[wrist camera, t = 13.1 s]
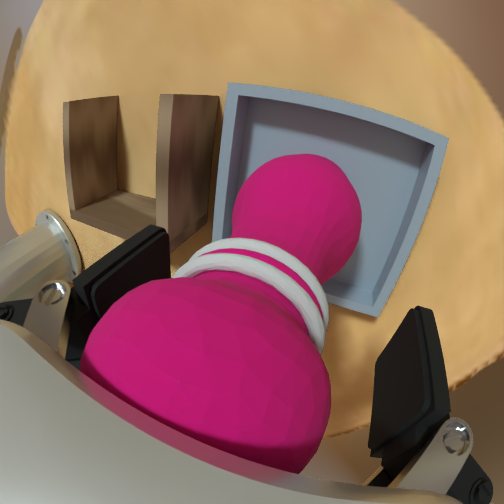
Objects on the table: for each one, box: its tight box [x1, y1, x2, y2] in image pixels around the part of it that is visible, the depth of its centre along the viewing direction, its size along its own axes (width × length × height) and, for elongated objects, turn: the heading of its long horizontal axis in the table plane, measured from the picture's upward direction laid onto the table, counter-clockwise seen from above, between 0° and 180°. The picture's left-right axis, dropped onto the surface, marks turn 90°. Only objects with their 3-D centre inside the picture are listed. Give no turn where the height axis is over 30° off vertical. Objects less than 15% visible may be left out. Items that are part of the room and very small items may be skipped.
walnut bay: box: [63, 94, 219, 253], centre depth 20 cm, size 11×12×6 cm
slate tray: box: [212, 83, 449, 317], centre depth 18 cm, size 14×14×3 cm
